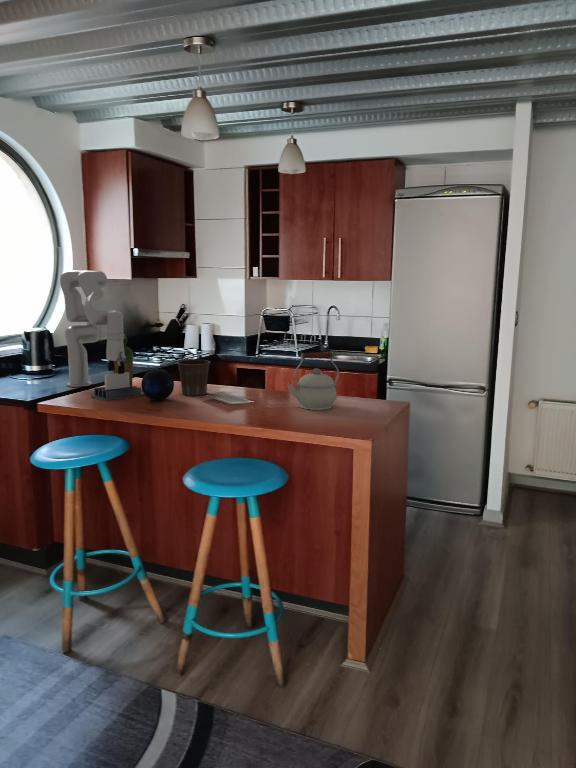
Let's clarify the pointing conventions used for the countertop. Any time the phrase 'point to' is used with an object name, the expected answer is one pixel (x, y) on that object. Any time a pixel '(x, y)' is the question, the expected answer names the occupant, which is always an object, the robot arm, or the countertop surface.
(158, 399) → the decorative sphere
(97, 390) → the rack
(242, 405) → the countertop surface
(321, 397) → the kettle
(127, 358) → the bottle
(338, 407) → the countertop surface
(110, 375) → the small white box
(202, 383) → the plant pot
